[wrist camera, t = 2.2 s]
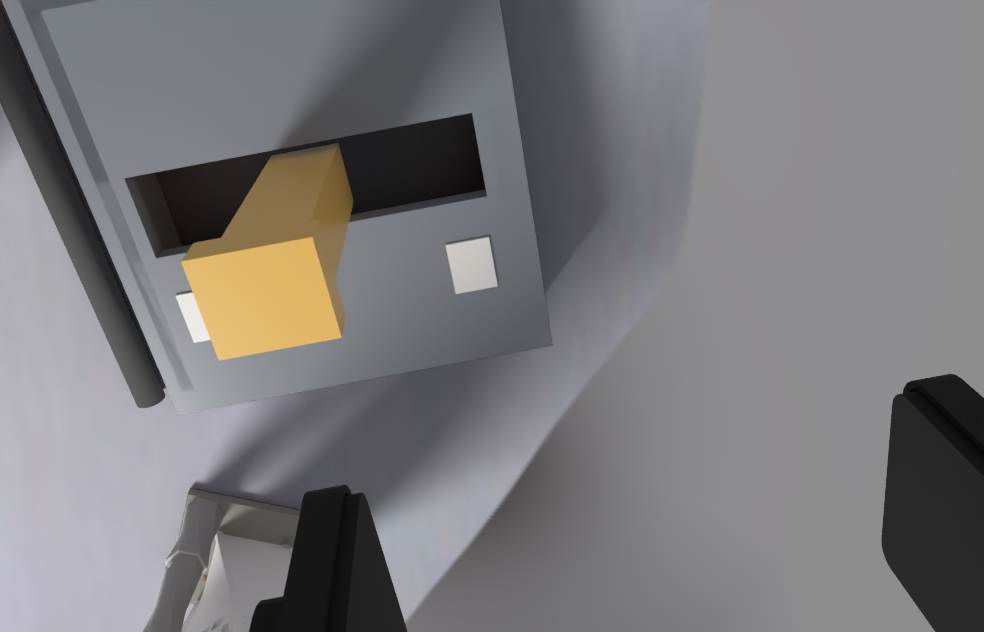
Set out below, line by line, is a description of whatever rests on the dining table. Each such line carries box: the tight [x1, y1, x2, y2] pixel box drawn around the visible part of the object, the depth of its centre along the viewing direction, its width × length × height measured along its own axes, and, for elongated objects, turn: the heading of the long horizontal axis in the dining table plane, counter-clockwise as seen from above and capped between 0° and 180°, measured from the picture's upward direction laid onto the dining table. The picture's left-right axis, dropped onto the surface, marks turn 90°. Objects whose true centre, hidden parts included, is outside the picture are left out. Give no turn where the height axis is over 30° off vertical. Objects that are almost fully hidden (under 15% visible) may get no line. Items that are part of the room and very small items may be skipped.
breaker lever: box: [181, 143, 354, 361], centre depth 24 cm, size 3×3×10 cm
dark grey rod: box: [0, 11, 165, 408], centre depth 31 cm, size 18×1×1 cm, turn 10°
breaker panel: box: [2, 0, 553, 415], centre depth 29 cm, size 16×15×4 cm
